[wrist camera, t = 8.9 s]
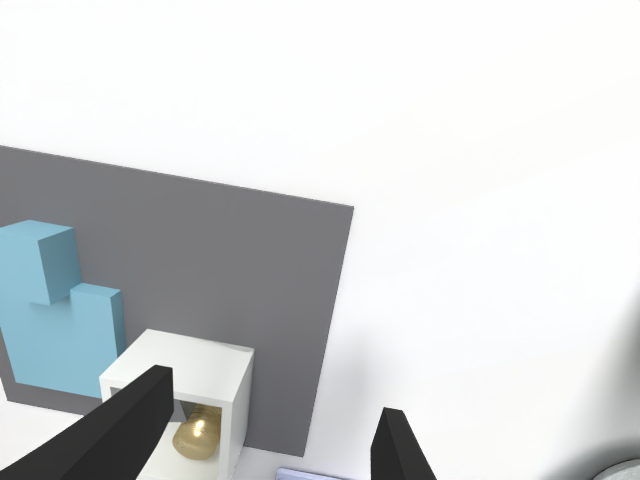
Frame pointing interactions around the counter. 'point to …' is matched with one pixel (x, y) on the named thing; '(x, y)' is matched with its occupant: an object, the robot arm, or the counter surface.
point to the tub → (191, 397)
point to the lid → (55, 311)
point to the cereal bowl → (621, 471)
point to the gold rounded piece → (199, 433)
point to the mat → (195, 273)
